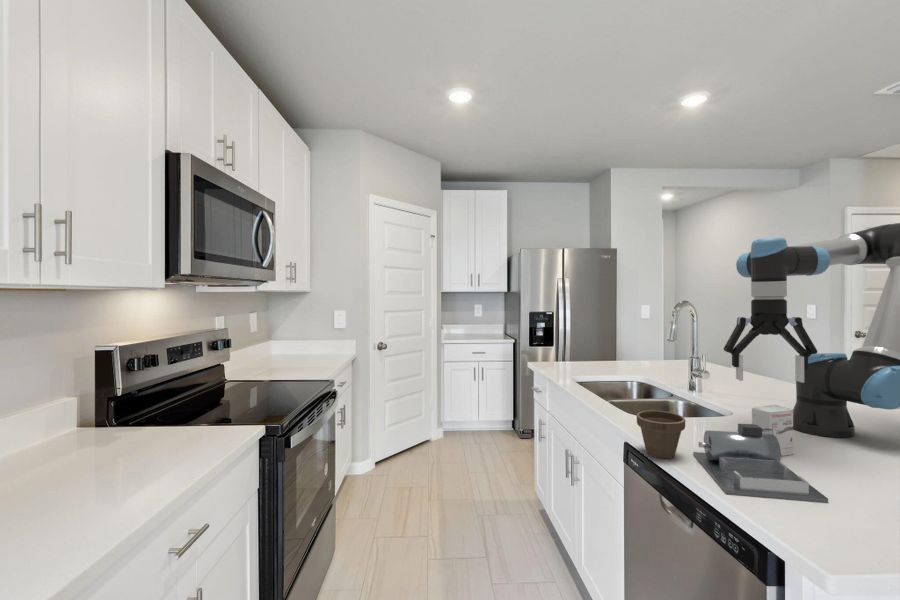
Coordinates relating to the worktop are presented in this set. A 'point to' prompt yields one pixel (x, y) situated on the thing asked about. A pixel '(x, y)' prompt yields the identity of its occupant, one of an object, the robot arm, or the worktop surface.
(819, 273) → the robot arm
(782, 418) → the ink box
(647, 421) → the flower pot
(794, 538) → the worktop surface
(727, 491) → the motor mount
